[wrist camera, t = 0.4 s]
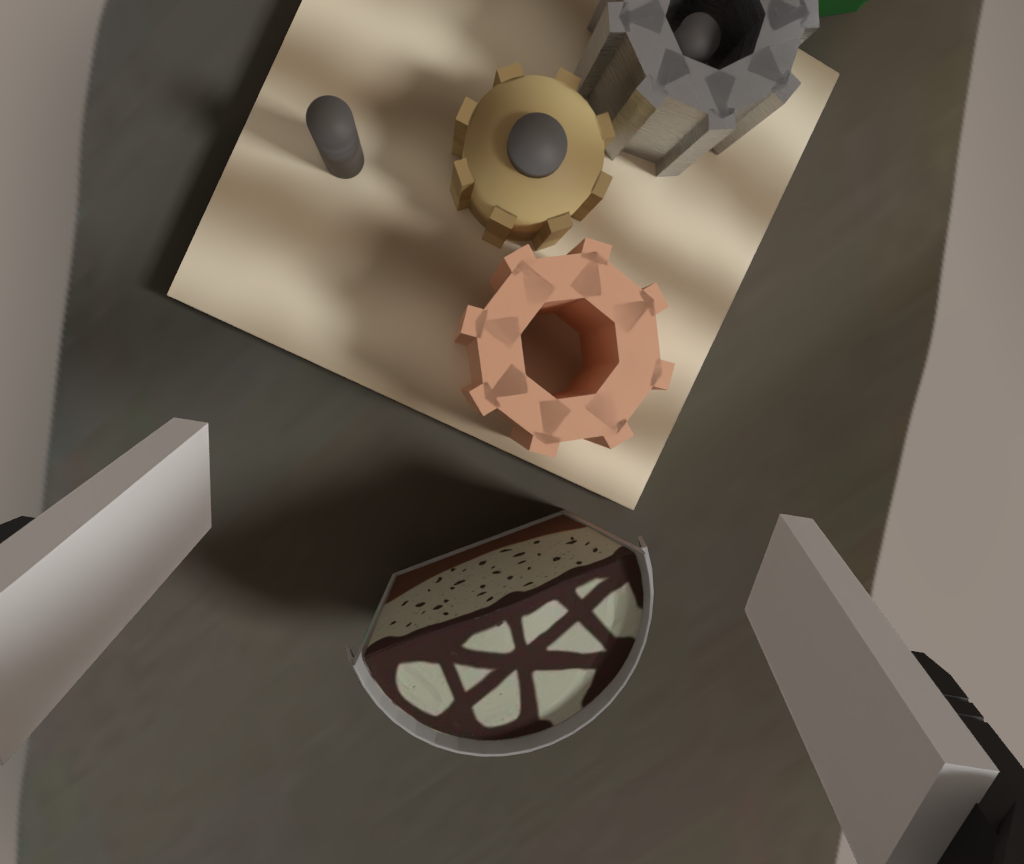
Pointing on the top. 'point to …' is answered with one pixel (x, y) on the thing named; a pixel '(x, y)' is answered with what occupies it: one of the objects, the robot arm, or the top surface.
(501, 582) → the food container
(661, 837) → the top surface
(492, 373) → the planet gear
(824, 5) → the milk carton
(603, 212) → the carrier
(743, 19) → the seated gear
